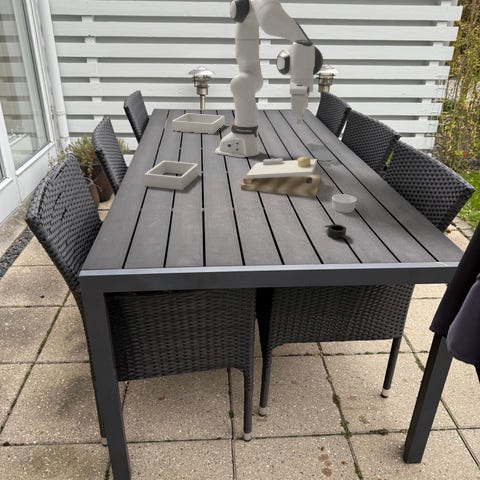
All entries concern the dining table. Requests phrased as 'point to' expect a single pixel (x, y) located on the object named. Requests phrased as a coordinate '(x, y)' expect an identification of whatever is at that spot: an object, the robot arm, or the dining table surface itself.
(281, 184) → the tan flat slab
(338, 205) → the ramekin
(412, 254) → the dining table surface
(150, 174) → the frame
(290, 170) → the plate
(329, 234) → the duct tape
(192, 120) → the white square tray
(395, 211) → the dining table surface
